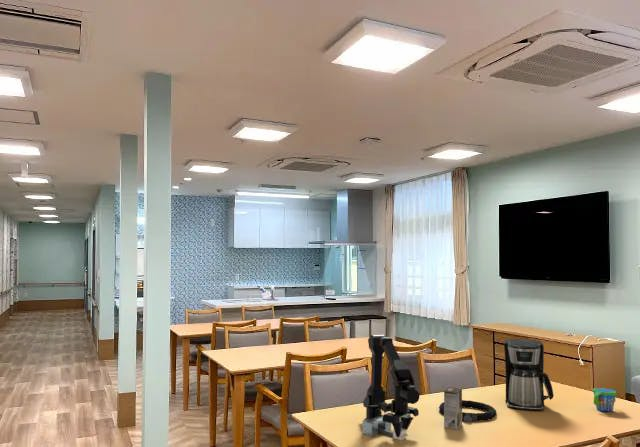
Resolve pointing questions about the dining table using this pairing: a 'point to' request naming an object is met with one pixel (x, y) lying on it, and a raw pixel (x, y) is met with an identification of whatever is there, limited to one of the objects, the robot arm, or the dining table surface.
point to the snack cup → (604, 399)
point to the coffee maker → (525, 374)
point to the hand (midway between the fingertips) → (400, 435)
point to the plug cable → (393, 433)
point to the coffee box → (452, 408)
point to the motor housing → (374, 426)
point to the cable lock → (475, 416)
